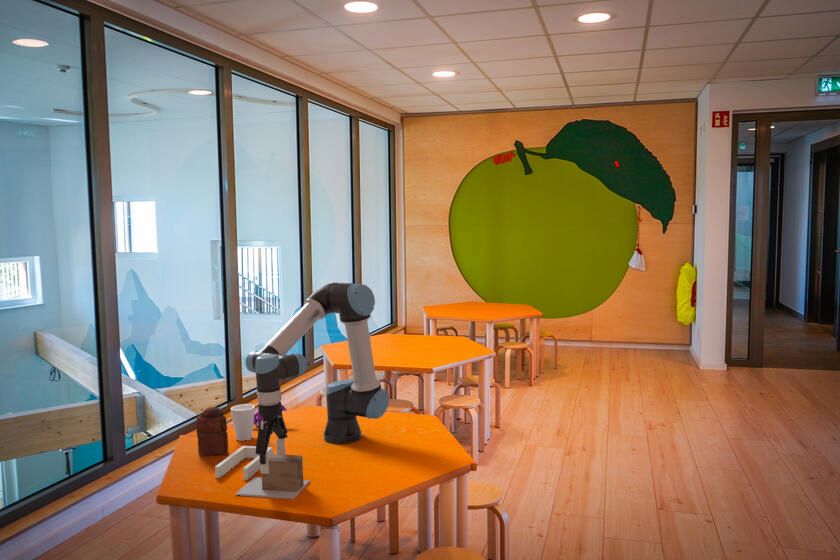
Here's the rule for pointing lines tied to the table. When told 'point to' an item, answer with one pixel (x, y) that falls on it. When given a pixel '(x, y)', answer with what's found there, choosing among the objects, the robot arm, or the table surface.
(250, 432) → the foam cup
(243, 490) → the mat
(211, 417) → the wooden figurine
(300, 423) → the table surface
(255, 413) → the toy dog
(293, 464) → the walnut block
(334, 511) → the table surface
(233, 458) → the bay
